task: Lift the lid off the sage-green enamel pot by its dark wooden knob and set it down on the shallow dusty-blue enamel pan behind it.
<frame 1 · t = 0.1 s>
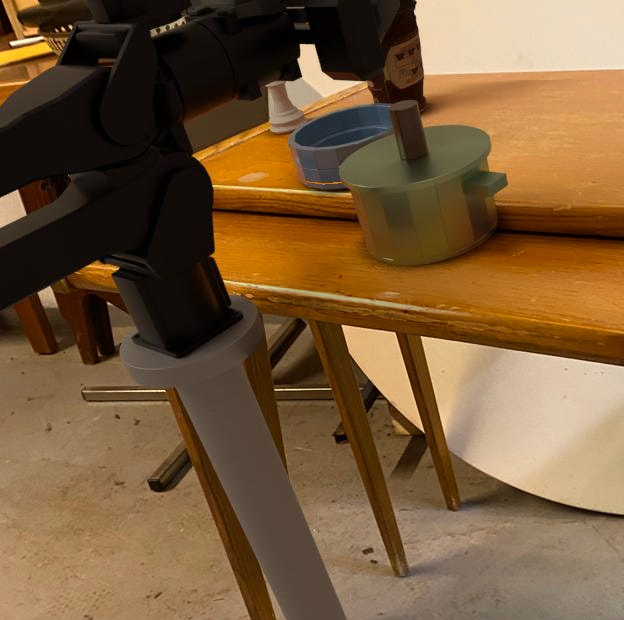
pot: (432, 233, 80), on the table
pan: (359, 168, 96), on the table
lid: (415, 161, 76), point 6 cm above the table, touching pot
chess piece: (290, 128, 112), on the table
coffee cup: (404, 113, 108), on the table
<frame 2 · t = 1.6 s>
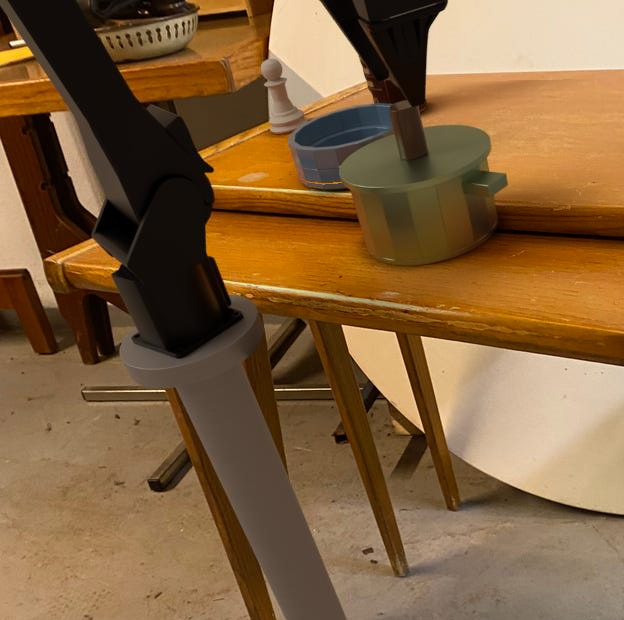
hand: (399, 91, 72), 12 cm above the table, tool pointing down, fingers open, 9 cm apart
nothing on the table moved.
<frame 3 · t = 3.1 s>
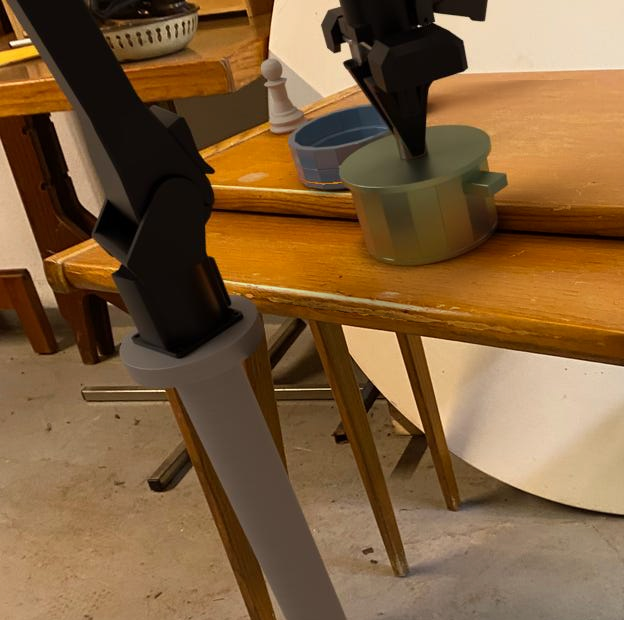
hand: (413, 150, 75), 7 cm above the table, tool pointing down, fingers closed on lid, 2 cm apart
lid: (415, 161, 76), point 7 cm above the table, touching gripper, pot
everything else where it was.
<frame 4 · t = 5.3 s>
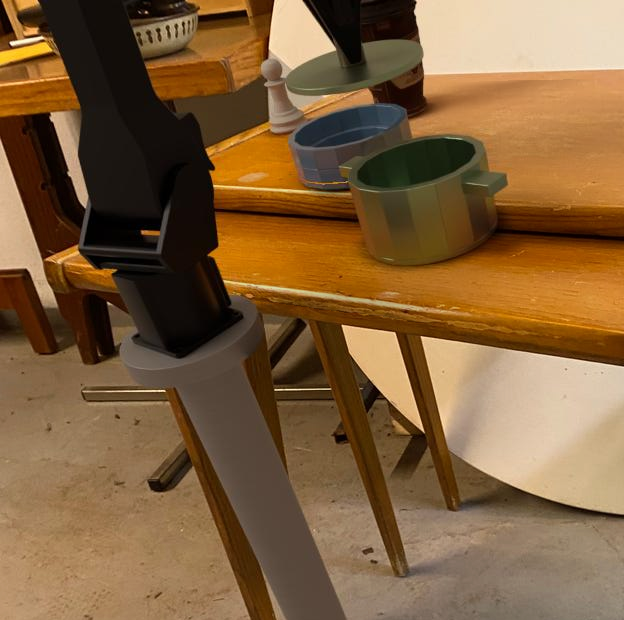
hand: (351, 59, 82), 12 cm above the table, tool pointing down, fingers closed on lid, 2 cm apart
lid: (355, 70, 83), point 11 cm above the table, touching gripper
everything else where it was.
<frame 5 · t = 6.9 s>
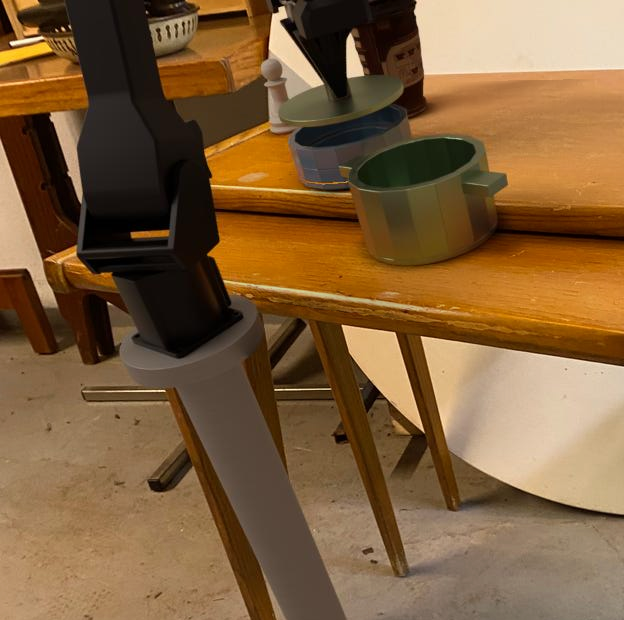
hand: (338, 94, 91), 8 cm above the table, tool pointing down, fingers closed on lid, 2 cm apart
lid: (341, 102, 92), point 7 cm above the table, touching gripper
everything else where it was.
when the fingers open (5 cm above the table, at t = 7.8 s): lid stays where it is, resting on pan.
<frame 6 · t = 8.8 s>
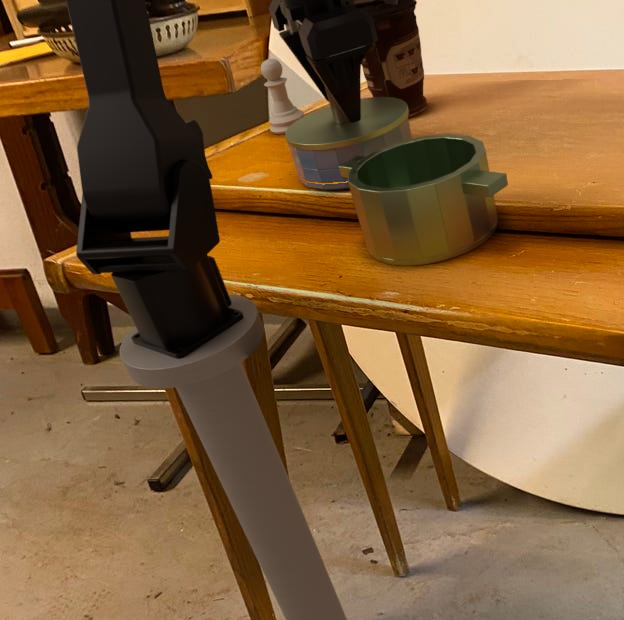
hand: (343, 110, 92), 6 cm above the table, tool pointing down, fingers open, 9 cm apart
lid: (347, 125, 93), point 4 cm above the table, touching pan
everything else where it was.
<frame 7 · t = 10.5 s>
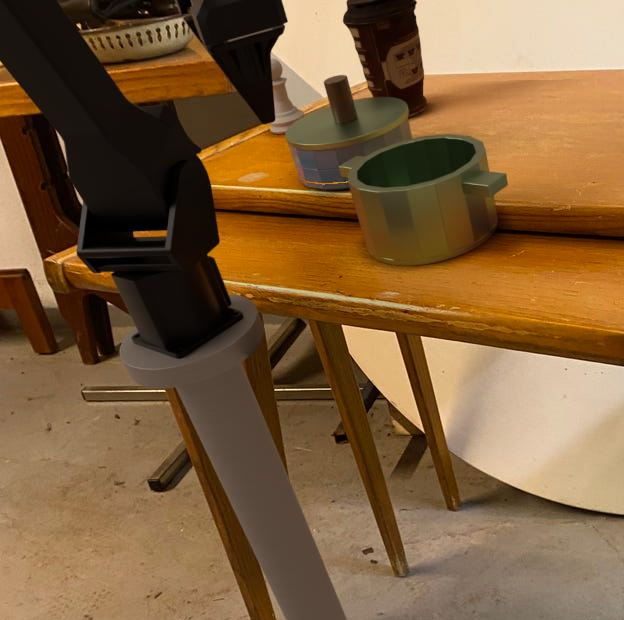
hand: (259, 109, 77), 12 cm above the table, tool pointing down, fingers open, 9 cm apart
nothing on the table moved.
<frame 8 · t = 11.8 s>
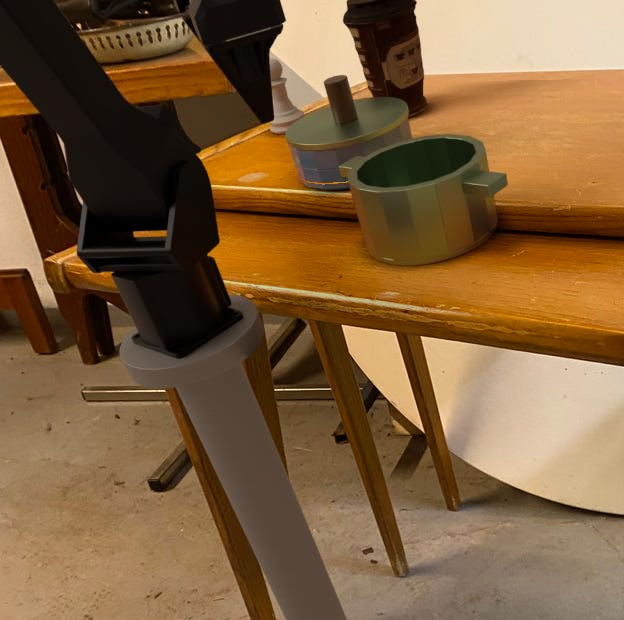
hand: (257, 108, 76), 12 cm above the table, tool pointing down, fingers open, 9 cm apart
nothing on the table moved.
at the end: lid 0.1 cm off-centre on the pan, point 4.5 cm above the pan's base; lid tilted 0°; the gripper is holding nothing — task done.
